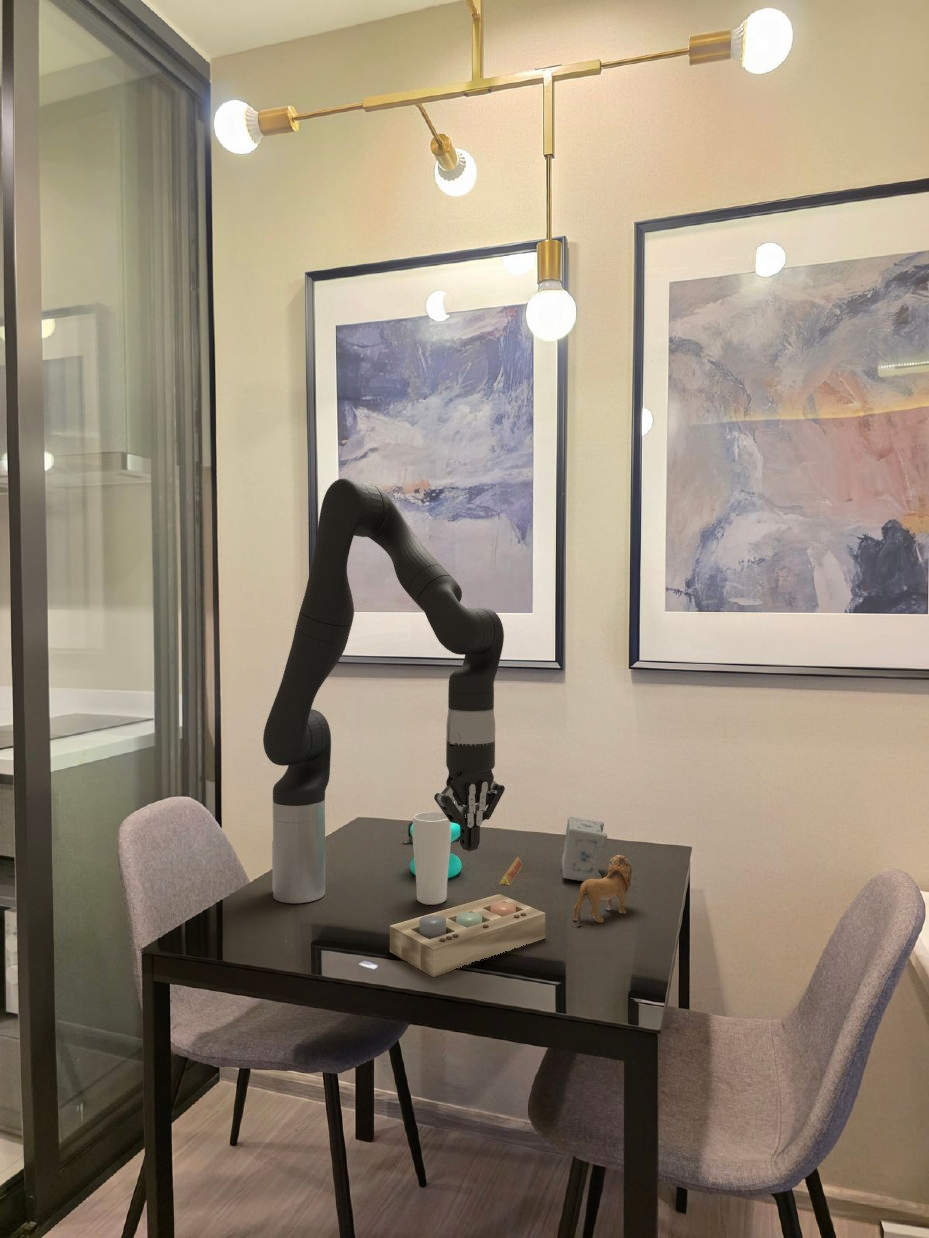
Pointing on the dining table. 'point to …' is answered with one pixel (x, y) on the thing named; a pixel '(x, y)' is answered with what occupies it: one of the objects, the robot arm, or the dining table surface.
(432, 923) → the slate button
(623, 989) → the dining table surface
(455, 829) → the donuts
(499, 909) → the terracotta button
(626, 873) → the lion figurine
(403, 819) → the dining table surface
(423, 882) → the drinking glass
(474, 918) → the sage button
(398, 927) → the button panel
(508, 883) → the chocolate bar
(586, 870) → the incense holder
